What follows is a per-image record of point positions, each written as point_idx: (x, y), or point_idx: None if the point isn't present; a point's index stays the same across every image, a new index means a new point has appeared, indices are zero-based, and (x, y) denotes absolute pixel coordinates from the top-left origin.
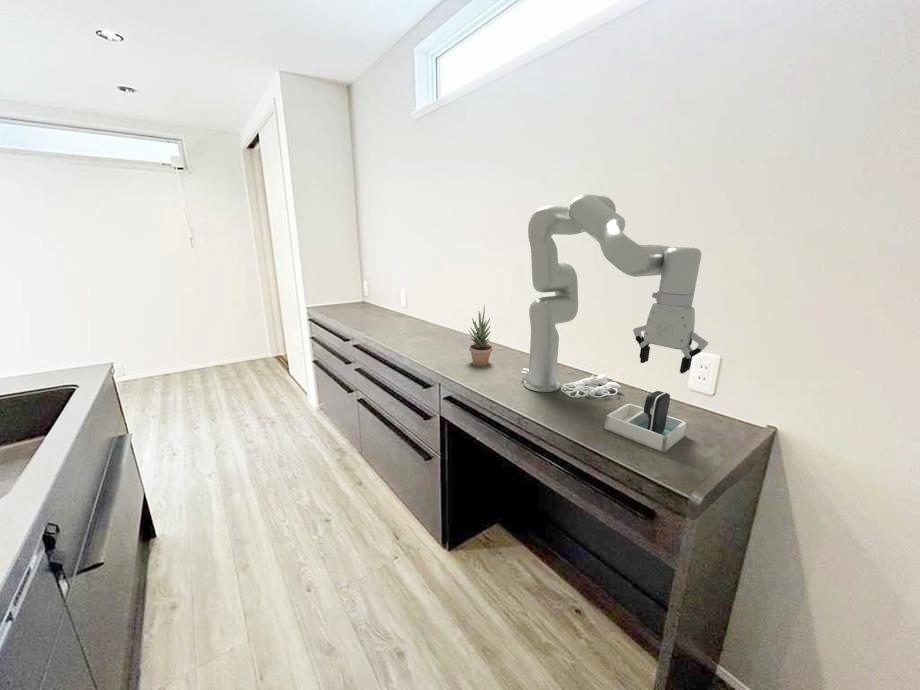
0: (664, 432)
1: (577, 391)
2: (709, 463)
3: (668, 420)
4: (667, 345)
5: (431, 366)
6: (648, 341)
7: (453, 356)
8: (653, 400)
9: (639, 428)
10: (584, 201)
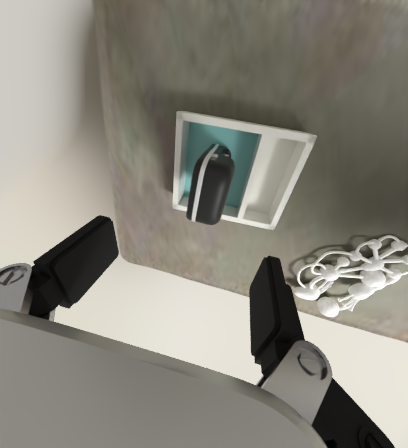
0: None
1: (377, 254)
2: (127, 127)
3: None
4: (57, 348)
5: None
6: (266, 413)
7: None
8: (210, 165)
9: (233, 121)
10: None
